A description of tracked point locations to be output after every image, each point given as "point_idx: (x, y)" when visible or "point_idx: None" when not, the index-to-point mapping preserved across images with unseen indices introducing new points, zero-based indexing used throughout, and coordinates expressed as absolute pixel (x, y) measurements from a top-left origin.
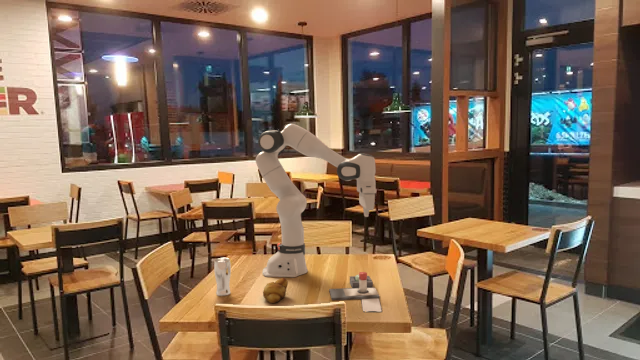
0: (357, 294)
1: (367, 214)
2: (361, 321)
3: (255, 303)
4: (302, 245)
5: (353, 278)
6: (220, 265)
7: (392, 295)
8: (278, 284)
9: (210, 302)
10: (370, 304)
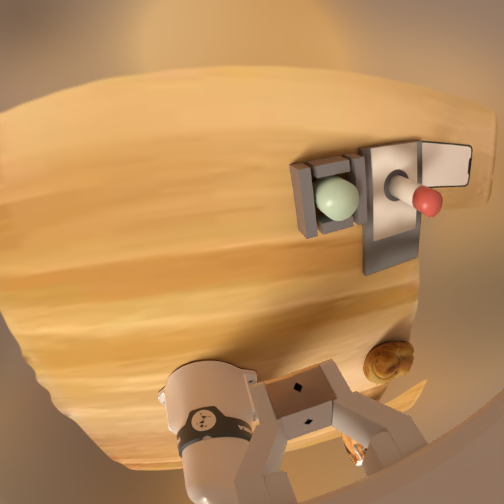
0: None
1: (344, 386)
2: (489, 188)
3: None
4: (233, 435)
5: (328, 223)
6: None
7: (400, 100)
8: (404, 365)
9: None
10: (444, 167)
